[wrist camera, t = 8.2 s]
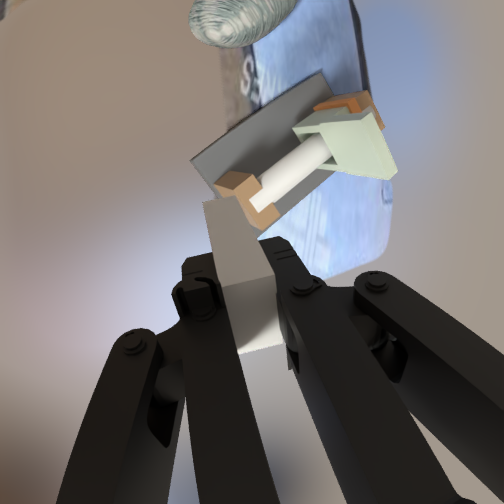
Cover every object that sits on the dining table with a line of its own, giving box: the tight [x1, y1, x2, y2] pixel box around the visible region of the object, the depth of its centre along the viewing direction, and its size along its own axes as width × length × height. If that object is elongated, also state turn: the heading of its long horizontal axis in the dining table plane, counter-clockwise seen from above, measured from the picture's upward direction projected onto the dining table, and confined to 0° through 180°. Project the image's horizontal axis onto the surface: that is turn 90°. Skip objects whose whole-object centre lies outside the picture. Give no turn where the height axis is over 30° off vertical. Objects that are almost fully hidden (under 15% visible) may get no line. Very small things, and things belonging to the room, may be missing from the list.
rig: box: [190, 73, 385, 238], centre depth 34 cm, size 12×20×9 cm, turn 125°
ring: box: [313, 97, 362, 114], centre depth 33 cm, size 6×1×6 cm, turn 35°
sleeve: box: [292, 106, 398, 180], centre depth 30 cm, size 6×4×12 cm, turn 35°
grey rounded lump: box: [189, 0, 297, 48], centre depth 27 cm, size 14×10×10 cm
